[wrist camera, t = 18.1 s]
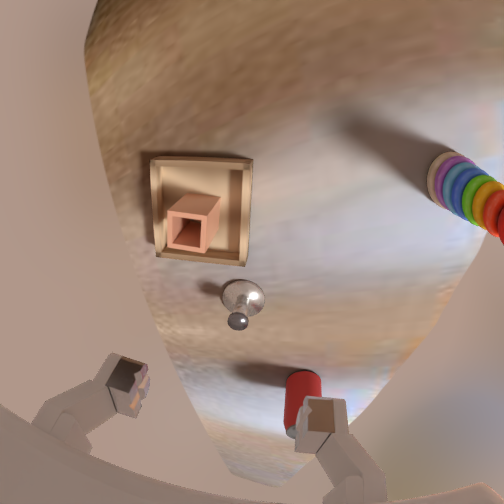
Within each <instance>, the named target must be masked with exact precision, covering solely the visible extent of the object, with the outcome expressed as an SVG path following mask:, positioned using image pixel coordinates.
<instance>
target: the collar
mask: <svg viewBox="0 0 504 504" xmlns="http://www.w3.org/2000/svg"><path fill="white" fill-rule="evenodd" d="M220 201H221V197H215V196H207V195H200V194H192V193H186V194H185V195H184V196H183V197H182V198H181V199H180V200H178V201H177V202H176V203H175V204H174V205H173V206H172V207H171V208H170V209H169V210H167V247H169V248H175V249H181V250H187V251H193V252H199V253H206V251H207V249H208V247H209V245H210V244H211V242H212V240H213V238H214V236H215V235H216V233H217V231H218V226H219V214H220ZM190 219H196V220H201V223H197V222H190Z"/></svg>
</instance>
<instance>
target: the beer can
mask: <svg viewBox="0 0 504 504" xmlns="http://www.w3.org/2000/svg"><path fill="white" fill-rule="evenodd" d="M306 396H315V397H322V394H321V379H320V377H319V376H318V375H317V374H315V373H313V372H310V371H299V372H296V373H294V374H292V375H290V376H289V378H288V379H287V381H286V394H285V409H284V426H285V429H286V434H287V435H288V436H289V437H290V438H292V439H295V438H296V436H297V434H298V431H297V430H296V419H297V415H298V411H299V409H300V407H302V406H303V400H304V398H305V397H306Z"/></svg>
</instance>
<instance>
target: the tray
mask: <svg viewBox="0 0 504 504" xmlns="http://www.w3.org/2000/svg"><path fill="white" fill-rule="evenodd" d="M252 173H253V160H252V159H237V158H218V157H191V156H158V157H156V158H153V159H151V160H150V180H151V199H152V214H153V228H154V239H155V250H156V257H162V258H170V259H179V260H188V261H197V262H206V263H215V264H224V265H233V266H242V267H245V265H246V262H247V258H248V248H249V229H250V210H251V191H252ZM186 193H192V194H200V195H207V196H215V197H221V201H220V214H219V226H218V231H217V233H216V235H215V236H214V238H213V240H212V242H211V244H210V245H209V247H208V249H207V251H206V253H199V252H193V251H187V250H181V249H175V248H169V247H167V210H169V209H170V208H171V207H172V206H173V205H174V204H175V203H176V202H177V201H178V200H180V199H181V198H182V197H183V196H184V195H185V194H186ZM190 222H197V223H201V220H196V219H190Z"/></svg>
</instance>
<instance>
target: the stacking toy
mask: <svg viewBox="0 0 504 504" xmlns="http://www.w3.org/2000/svg"><path fill="white" fill-rule="evenodd" d="M427 188H428V192H429V194H430V196H431V198H432V200H433V201H434V202H435V203H436V204H437V205H438V206H440V207H441V208H444V209H447V210H449V211H451V212H452V213H453V214H455V215H456V216H459V217H461V218H462V219H464V220H467V221H469V222H471V223H472V224H474V225H476V226H480V227H481V228H483V229H485V230H487V231H488V232H489V233H490V234H492V235H493V236H495V237H500V240H501V242H502V243H503V244H504V185H503V184H501V183H500V182H497V181H496V180H495V179H494V178H493V177H491V176H489V175H488V174H487V173H486V172H485V171H483V170H481V169H480V168H479V167H478V166H476V165H475V163H474V162H473V161H471V160H470V159H468V158H466V157H465V156H463V155H462V154H459V153H457V152H446V153H443V154H441V155H440V156H438V157H437V158H436V159H435V160H434V161H433V163H432V164H431V166H430V168H429V171H428V175H427Z"/></svg>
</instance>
